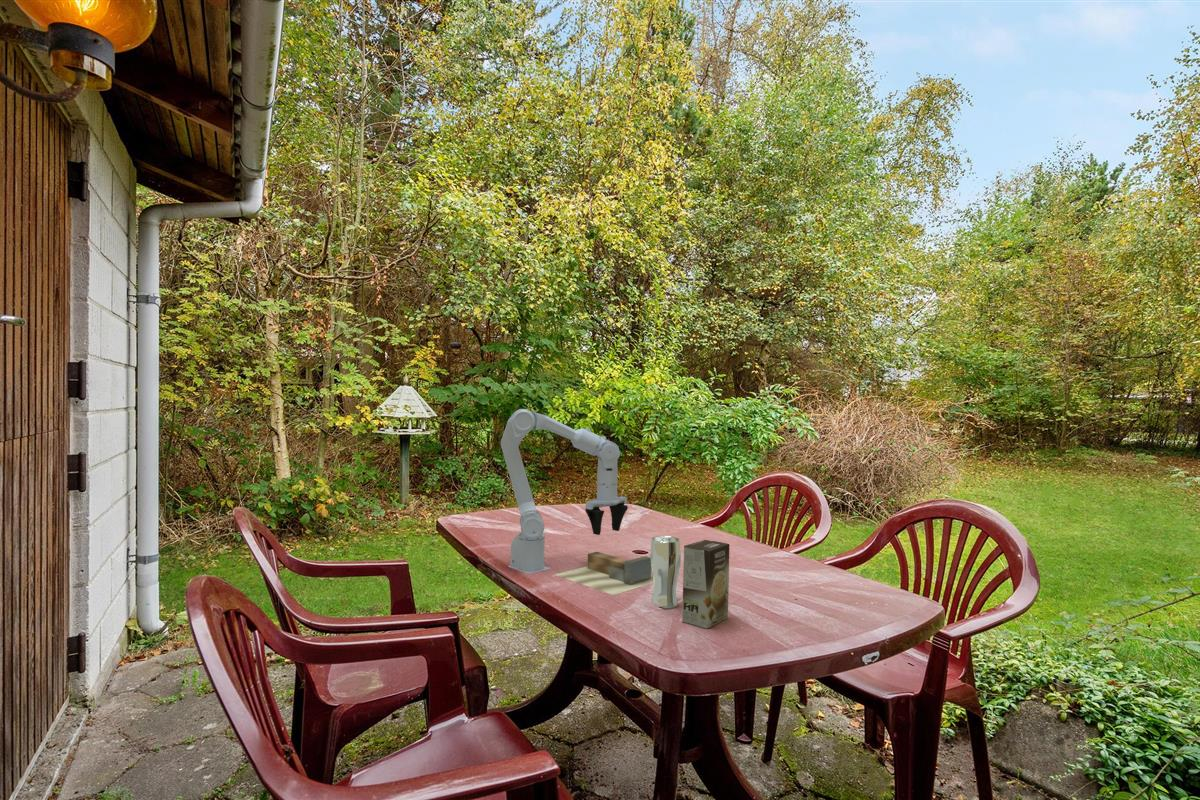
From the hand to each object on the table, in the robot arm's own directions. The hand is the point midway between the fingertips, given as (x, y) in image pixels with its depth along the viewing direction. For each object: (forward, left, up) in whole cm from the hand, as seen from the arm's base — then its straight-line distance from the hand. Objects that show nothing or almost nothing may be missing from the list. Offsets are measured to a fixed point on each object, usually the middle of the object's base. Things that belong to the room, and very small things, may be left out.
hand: (606, 532), depth 163 cm
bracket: (+12, -4, -9) cm, 15 cm away
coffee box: (+42, -12, -10) cm, 45 cm away
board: (+8, -8, -10) cm, 15 cm away
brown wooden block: (+6, -4, -9) cm, 12 cm away
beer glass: (+30, -11, -10) cm, 34 cm away
